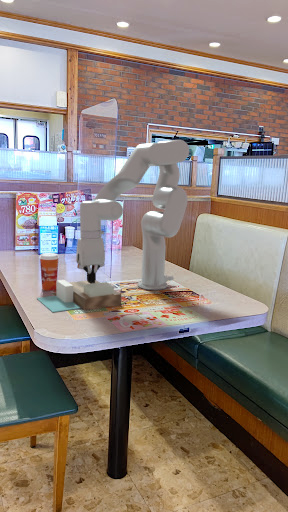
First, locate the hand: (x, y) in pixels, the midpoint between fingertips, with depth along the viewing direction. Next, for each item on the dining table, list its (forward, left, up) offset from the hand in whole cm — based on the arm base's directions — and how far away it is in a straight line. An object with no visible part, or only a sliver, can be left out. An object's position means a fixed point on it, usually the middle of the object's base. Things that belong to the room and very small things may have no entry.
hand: (91, 282), depth 153 cm
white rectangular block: (+9, 0, -2) cm, 9 cm away
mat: (+14, +3, -5) cm, 16 cm away
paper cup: (+11, -16, -6) cm, 20 cm away
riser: (+2, +3, -5) cm, 6 cm away
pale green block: (+2, +10, -1) cm, 10 cm away
